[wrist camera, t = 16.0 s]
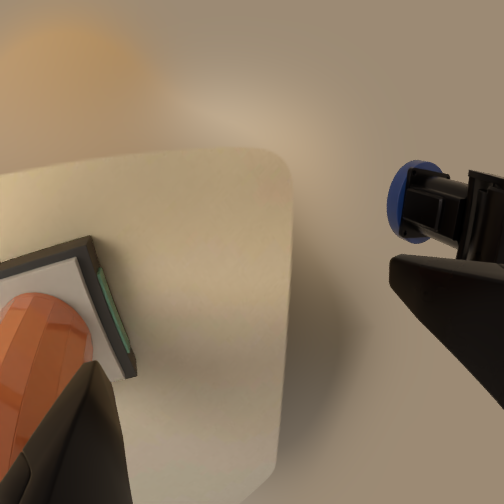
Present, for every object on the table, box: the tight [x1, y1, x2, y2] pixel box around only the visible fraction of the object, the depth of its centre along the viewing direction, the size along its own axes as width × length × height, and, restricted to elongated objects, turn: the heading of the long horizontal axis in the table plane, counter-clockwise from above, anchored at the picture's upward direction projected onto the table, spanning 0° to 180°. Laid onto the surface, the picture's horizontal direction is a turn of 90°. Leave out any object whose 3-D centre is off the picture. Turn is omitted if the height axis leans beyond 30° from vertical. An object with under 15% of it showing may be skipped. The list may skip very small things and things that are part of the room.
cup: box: [0, 292, 93, 482], centre depth 11 cm, size 7×7×13 cm
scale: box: [0, 235, 137, 382], centre depth 18 cm, size 10×10×3 cm
